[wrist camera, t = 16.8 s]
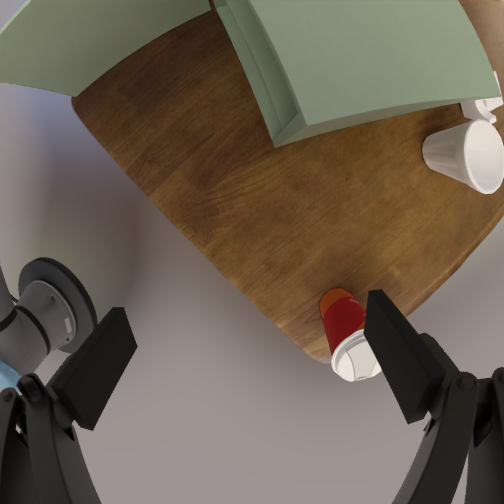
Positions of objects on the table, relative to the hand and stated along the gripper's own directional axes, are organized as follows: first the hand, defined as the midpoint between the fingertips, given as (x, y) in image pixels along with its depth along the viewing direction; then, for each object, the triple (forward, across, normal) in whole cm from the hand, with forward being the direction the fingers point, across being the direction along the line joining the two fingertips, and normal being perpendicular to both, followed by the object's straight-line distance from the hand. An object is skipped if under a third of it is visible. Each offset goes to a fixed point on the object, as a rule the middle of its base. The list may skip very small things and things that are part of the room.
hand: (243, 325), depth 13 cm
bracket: (+28, +44, +22) cm, 57 cm away
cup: (+27, +31, +9) cm, 42 cm away
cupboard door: (+27, -16, +32) cm, 45 cm away
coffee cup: (+27, +13, -16) cm, 34 cm away
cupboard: (+27, +9, +24) cm, 38 cm away
